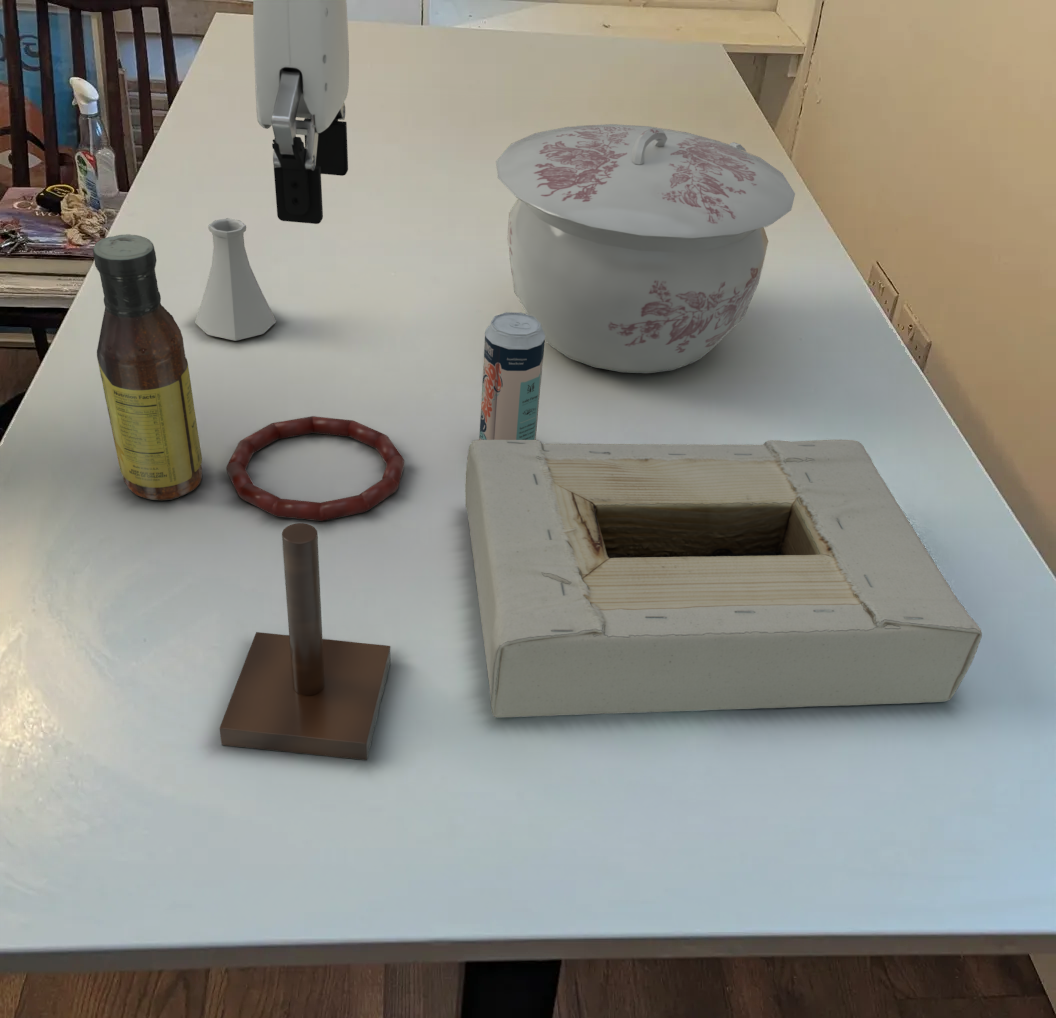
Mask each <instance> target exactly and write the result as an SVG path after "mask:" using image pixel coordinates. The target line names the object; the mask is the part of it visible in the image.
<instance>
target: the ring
mask: <svg viewBox="0 0 1056 1018" xmlns="http://www.w3.org/2000/svg"><path fill="white" fill-rule="evenodd" d="M309 434H321V435H328V436H329V435H330V436H338V437H350V438H351V439H354V440H356V441H358V442H360V443H362V444H365V445H367V446H369V447H372V448H374V449H376V451H377V452H378V454H379V455H380V457H381V458H382V460H383V461H384V462H385V464H386V465H385V468H384V471H383V475H382V479H381V480H379V481H377V482H376V483H374V484H373V485H371V486H370V487H369V488H367V489H365V490H364V491H363V492H361V493H360V494H357V495H352V496H347V497H342V498H337V499H331V500H328V501H322V502H319V501H311V500H310V501H309V500H300V499H299V500H298V499H291V498H290V499H289V498H281V497H279V496H277V495H275V494H273V493H271V492H269V491H267V490H265V489H263V488H261V487H259V486H258V485H255V484H254V482H253V481H252V479H251V477H250V475H249V473H248V471H247V467H248V465H249V463H250V461H251V459H252V457H253V455H254V454H255V453H257V452H258V451H260V450H262V449H264V448H265V447H267V446H269V445H271V444H272V443H274V442H276V441H277V440H280V439H287V438H288V439H289V438H292V437H299V436H305V435H309ZM404 468H405V458H404V457H403V456H402V454H401V452H400V451H399V450H398V448H397V447H396V445H395V444H394V443H393V442H392V439H390V437H389V436H388V435H387V434H385V433H383V432H380V431H378V430H376V429H374V428H372V427H369V426H367V425H365V424H362V423H360V422H358V421H356V420H353V419H346V418H345V419H343V418H335V417H323V416H316V415H315V416H314V415H311V416H305V417H300V418H299V417H298V418H294V419H293V418H292V419H288V420H283V421H282V420H281V421H275V422H271V423H270V424H267V425H266V426H264V427H262V428H259V429H258V430H256V431H255V432H253V433H251V434H250V435H247V436H246V437H244V438H243V439H241V440H239V441H238V443H237V446H236V448H235V449H234V450H233V453H232V455H231V457H230V459H229V461H228V463H227V465H226V473H227V475H228V477H229V479H230V481H231V483H232V485H233V487H234V490H235V491H236V493H237V495H238V496H239V498H240V499H241V500H243V501H245V502H247V503H249V504H251V505H252V506H255V507H257V508H259V509H260V510H263V511H265V512H266V513H269V514H271V515H273V516H274V517H281V518H289V519H299V520H306V521H307V520H308V521H316V522H317V521H318V522H325V521H329V520H333V519H338V518H343V517H348V516H353V515H357V514H363V513H366V512H368V511H370V510H371V509H373V508H374V507H376V506H377V505H379V504H380V503H381V502H383V501H384V500H386V499H387V498H389V497H390V496H391V495H393V494H394V493H396V492H397V490H398V489H399V485H400V482H401V478H402V475H403V472H404Z"/></svg>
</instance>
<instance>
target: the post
mask: <svg viewBox="0 0 1056 1018" xmlns="http://www.w3.org/2000/svg"><path fill="white" fill-rule="evenodd" d="M318 535H319V534H318V530H317V528H316V527H315V526H313V525H311V524H309V523H306V522H305V523H304V522H296V523H291V524H289V525H287V526H286V527H284V528H283V530H282V532H281V541H282V542H281V543H282V555H283V556H282V557H283V569H284V583H285V584H284V585H285V599H286V611H287V625H288V634H278V633H269V632H260V631H255V634H254V636H253V640H252V642H251V645H250V648H249V650H248V653H247V655H246V657H245V660H244V662H243V665H242V668H241V671H240V672H239V673H240V674H239V675H238V678H237V680H236V683H235V687H234V689H233V692H232V694H231V697H230V699H229V702H228V704H227V707H226V710H225V711H224V712H225V713H224V715H223V716H222V717H223V718H222V720H221V723H220V725H219V728H218V729H219V736H220V737H219V738H220V743H221V746H228V747H237V748H239V747H240V748H246V749H254V750H255V749H257V750H267V751H275V752H285V753H295V754H304V755H315V756H322V757H323V756H324V757H333V758H334V757H335V758H343V759H353V760H362V761H367V760H368V758H369V753H370V749H371V745H372V740H373V735H374V731H375V727H376V723H377V719H378V715H379V711H380V707H381V702H382V699H383V694H384V690H385V687H386V682H387V678H388V674H389V670H390V666H391V645H384V644H378V643H377V644H375V643H365V642H359V641H357V642H356V641H347V640H337V639H327V638H323V622H322V621H323V620H322V618H323V617H322V601H321V599H322V598H321V580H320V579H321V577H320V559H319V558H320V557H319V536H318Z"/></svg>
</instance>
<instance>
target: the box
mask: <svg viewBox="0 0 1056 1018" xmlns="http://www.w3.org/2000/svg"><path fill="white" fill-rule="evenodd" d="M467 451H468V452H467V457H466V458H467V460H466V468H465V483H464V488H465V489H464V497H465V499H464V502H465V509H466V510H465V511H466V513H467V519H468V520H467V521H468V525H469V526H468V527H469V536H470V544H471V553H472V559H473V569H474V574H475V584H476V590H477V591H476V592H477V598H478V599H477V600H478V607H479V614H480V623H481V631H482V639H483V647H484V655H485V662H486V663H485V664H486V670H487V677H488V678H487V679H488V686H489V694H490V695H489V696H490V709H491V710H490V711H491V714H492V716H493V717H494V718H523V717H525V718H526V717H554V716H581V715H599V714H600V715H605V714H606V715H607V714H608V715H609V714H611V715H612V714H614V715H615V714H635V713H637V714H638V713H639V714H641V713H668V712H669V713H670V712H698V711H720V710H754V709H755V710H756V709H784V708H805V707H811V708H813V707H839V706H868V705H870V706H871V705H890V704H891V705H893V704H894V705H895V704H896V705H897V704H899V705H900V704H922V703H944V702H948V701H950V700H952V698H953V697H954V695H955V693H956V692H957V690H958V689H959V687H960V685H961V684H962V682H963V680H964V678H965V676H966V675H967V673H968V670H969V669H970V667H971V665H972V663H973V661H974V658H975V656H976V654H977V651H978V649H979V645H980V643H981V639H982V637H983V632H982V629H981V627H980V626H979V625H978V623H977V622H976V621H975V620H974V619H973V618H972V617H971V616H970V614H969V613H968V611H967V610H966V608H965V607H964V605H962V604H961V602H960V601H959V600H958V597H957V596H956V595H955V593H954V591H953V590H952V588H951V586H950V585H949V583H948V582H947V580H946V579H945V577H944V575H943V573H942V572H941V570H940V569H939V567H938V565H937V564H936V563H935V560H934V559H933V557H932V556H931V555H930V553H929V552H928V550H927V548H926V547H925V545H924V543H923V542H922V540H921V538H920V537H919V535H918V534H917V532H916V530H915V529H914V527H913V526H912V525H911V523H910V521H909V519H908V518H907V516H906V514H905V513H904V511H903V509H902V508H901V506H900V505H899V503H898V502H897V500H896V498H895V497H894V494H892V492H891V490H890V488H889V487H888V485H887V483H886V482H885V480H884V479H883V478H882V476H881V474H880V473H879V471H878V469H877V467H876V465H875V464H874V461H873V460H872V458H871V456H870V455H869V453H868V452H867V450H866V448H865V446H864V444H862V443H861V442H860V441H858V440H854V439H841V438H840V439H816V440H815V439H814V440H796V441H791V440H780V439H779V440H778V439H775V440H774V439H770V440H766V441H765V442H763V443H762V444H731V443H730V444H729V443H728V444H726V443H725V444H724V443H723V444H714V443H713V444H711V443H708V444H706V443H705V444H702V443H701V444H700V443H699V444H695V443H693V444H692V443H691V444H689V443H688V444H687V443H685V444H683V443H682V444H681V443H670V444H669V443H661V444H660V443H544V442H542V441H540V440H539V439H536V440H479V439H475V440H472V441H471V442H470V444H469V446H468V450H467Z"/></svg>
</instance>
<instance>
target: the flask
mask: <svg viewBox="0 0 1056 1018" xmlns="http://www.w3.org/2000/svg"><path fill="white" fill-rule="evenodd" d="M207 228H208V230H209V232H210V233H211V235H212V245H213V249H212V258H211V267H210V270H209V274H208V276H207V277H208V278H207V281H206V284H205V288H204V292H203V295H202V298H201V300H200V301H201V302H200V305H199V308H198V310H197V313H196V317H195V321H194V323H195V324H196V325H197V326H198V327H199V328H200V329H201V330H202V331H203V332H204V333H206V335H207V336H211V337H216V338H222V339H226V340H230V341H235V342H236V341H241V340H244V339H249V338H254V337H256V336H260V335H264V334H265V333H266V332H267V331H268V330H269V329H270V328H271V327H272V326H274V324H276V323H277V320H276V318H275V316H274V314H273V312H272V309H271V308H270V305H269V303H268V301H267V300H266V297H265V295H264V293H263V291H262V289H261V287H260V285H259V282H258V280H257V278H256V276H255V273H254V271H253V269H252V267H251V264H250V261H249V257H248V255H247V254H248V253H247V250H246V247H245V246H246V245H245V237H244V234H245V232H246V231H247V225H246V224H245V223H244V222H242V221H241V220H239V219H234V218H231V217H230V218H229V217H227V218H226V217H225V218H221V219H215V220H214V221H212V222H211V223H210V224H208V226H207Z"/></svg>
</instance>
